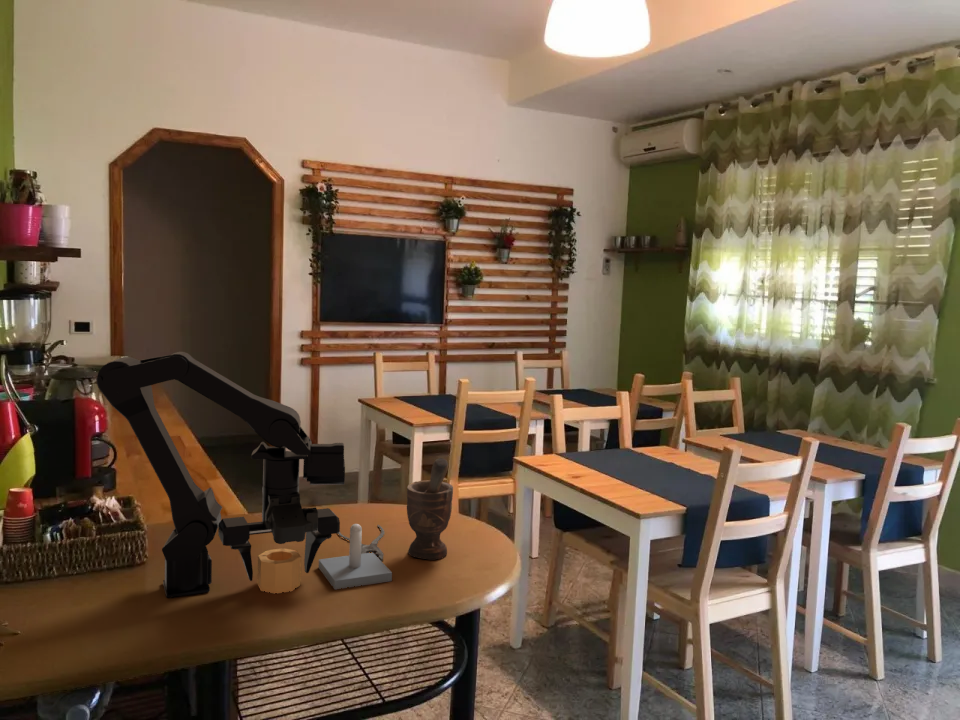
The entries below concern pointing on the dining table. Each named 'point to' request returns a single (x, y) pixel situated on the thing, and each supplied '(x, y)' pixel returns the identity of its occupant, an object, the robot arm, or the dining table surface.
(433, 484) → the mortar and pestle
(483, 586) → the dining table surface
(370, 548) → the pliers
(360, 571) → the pin base
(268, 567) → the collar
